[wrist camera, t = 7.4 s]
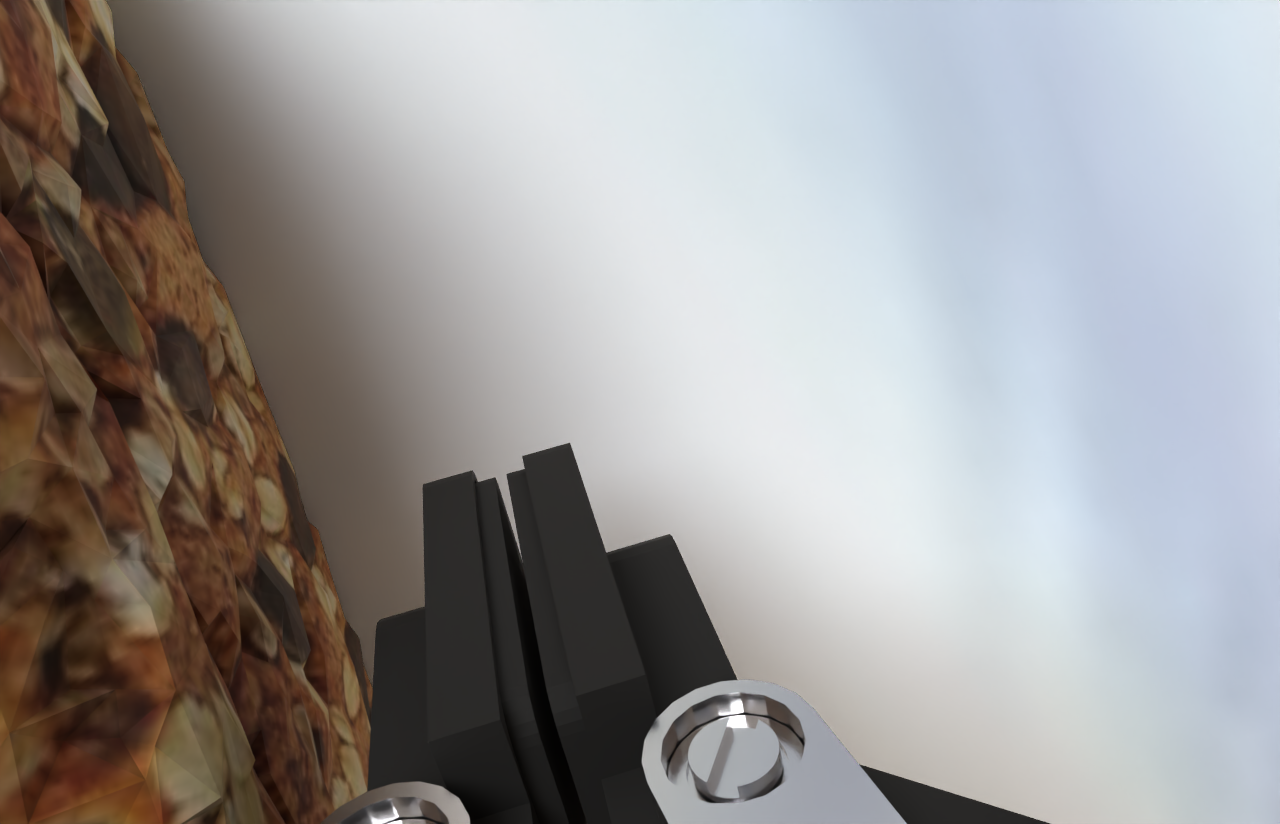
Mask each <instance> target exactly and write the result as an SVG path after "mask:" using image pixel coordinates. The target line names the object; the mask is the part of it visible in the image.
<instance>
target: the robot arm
mask: <svg viewBox="0 0 1280 824" xmlns="http://www.w3.org/2000/svg"><path fill="white" fill-rule="evenodd" d="M522 457H523V462H524V467H525V469H523V470H519V471H516V472H512V473H509V474H507V479H508V485H509V490H510V496H511V501H512V506H513V512H514V517H515V523H516V528H517V533H518V539H519V544H520V550H521V555H522V559H521V556H520V553H519V549H518V546H517V543H516V540H515V537H514V533H513V530H512V527H511V524H510V521H509V517H508V514H507V511H506V508H505V505H504V502H503V498H502V495H501V492H500V489H499V486H498V483H497V480H496V478H492V479H488V480H485V481H481V482H478V481H477V478H476V476H475V474H474V472H473V470H472V471H469V472H465V473H462V474H458V475H455V476H451V477H448V478H444V479H440V480H437V481H433V482H430V483H426V484H423V524H424V574H425V607H422V608H418V609H415V610H411V611H408V612H405V613H401V614H398V615H394V616H391V617H388V618H384V619H381V620H380V621H379V622H378V623H377V628H376V638H375V657H374V675H373V694H372V712H371V731H370V750H369V768H368V787H367V792H365V793H363V794H362V795H360V796H358V797H356V798H354V799H353V800H351V801H349V802H347V803H345V804H344V805H342V806H340V807H339V808H337V809H336V810H335V811H334V812H333V813H331V814H330V815H329V816H328V817H327V818H326V819H324V820H323V821H322V822H321V823H320V824H1050V823H1047V822H1043V821H1040V820H1037V819H1034V818H1030V817H1027V816H1024V815H1021V814H1018V813H1014V812H1011V811H1008V810H1005V809H1001V808H998V807H995V806H992V805H989V804H985V803H982V802H979V801H976V800H972V799H969V798H966V797H963V796H959V795H956V794H953V793H950V792H947V791H943V790H940V789H937V788H934V787H930V786H927V785H924V784H921V783H918V782H914V781H911V780H908V779H905V778H901V777H898V776H895V775H892V774H889V773H885V772H882V771H879V770H876V769H872V768H869V767H866V766H863V765H860V764H858V763H857V761H856V760H855V759H854V758H853V757H852V755H851V754H850V753H849V752H848V750H847V749H846V748H845V747H844V745H843V744H842V743H841V742H840V740H839V739H838V738H837V737H836V735H835V734H834V733H833V732H832V731H831V729H830V728H829V727H828V726H827V724H826V723H825V722H824V721H823V719H822V718H821V717H820V716H819V714H818V713H817V712H816V711H815V709H814V708H813V707H812V706H810V705H809V704H808V703H807V702H806V701H805V700H804V699H802V698H801V697H800V696H799V695H798V694H797V693H795V692H793V691H790V690H788V689H786V688H784V687H781V686H779V685H777V684H774V683H769V682H763V681H756V680H750V679H744V680H737V678H736V676H735V674H734V671H733V669H732V667H731V665H730V662H729V660H728V658H727V656H726V654H725V651H724V649H723V647H722V645H721V643H720V640H719V638H718V636H717V634H716V631H715V629H714V627H713V625H712V623H711V620H710V618H709V616H708V614H707V612H706V609H705V607H704V605H703V603H702V601H701V598H700V596H699V594H698V592H697V589H696V587H695V585H694V583H693V581H692V578H691V576H690V574H689V572H688V570H687V567H686V565H685V563H684V561H683V558H682V556H681V554H680V552H679V550H678V547H677V545H676V543H675V541H674V539H673V537H672V536H671V535H670V534H669V535H665V536H662V537H658V538H655V539H652V540H648V541H645V542H642V543H638V544H635V545H631V546H628V547H625V548H621V549H618V550H614V551H611V552H608V553H606V551H605V548H604V545H603V542H602V539H601V536H600V533H599V530H598V527H597V524H596V521H595V518H594V515H593V512H592V509H591V505H590V502H589V499H588V496H587V493H586V490H585V487H584V484H583V481H582V478H581V475H580V472H579V469H578V466H577V463H576V460H575V457H574V454H573V451H572V448H571V445H570V443H567V444H564V445H560V446H557V447H553V448H550V449H546V450H543V451H539V452H536V453H532V454H528V455H525V456H522ZM522 561H523V562H522Z"/></svg>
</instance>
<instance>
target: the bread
mask: <svg viewBox="0 0 1280 824" xmlns="http://www.w3.org/2000/svg"><path fill="white" fill-rule="evenodd" d="M372 694H373V688H372V686H371V683H370V680H369V678H368V675H367V673H366V670H365V668H364V665H363V660H362V653H361V646H360V639H359V638H358V636H357V635H356V633H355V632H354V630H353V629H352V628H351V626H350V625H349V623H348V622H347V621H346V619H345V617H344V614H343V611H342V608H341V604H340V601H339V598H338V595H337V592H336V589H335V585H334V582H333V579H332V576H331V573H330V569H329V566H328V563H327V559H326V556H325V552H324V549H323V546H322V542H321V539H320V535H319V532H318V530H317V529H316V528H315V527H314V526H313V525H312V524H310V523H309V522H308V521H307V518H306V515H305V511H304V508H303V505H302V502H301V498H300V494H299V489H298V484H297V480H296V475H295V471H294V469H293V466H292V464H291V461H290V459H289V456H288V454H287V451H286V449H285V446H284V444H283V441H282V439H281V436H280V433H279V431H278V428H277V426H276V423H275V421H274V418H273V416H272V413H271V411H270V408H269V406H268V403H267V400H266V398H265V395H264V393H263V390H262V387H261V385H260V382H259V379H258V377H257V374H256V371H255V369H254V366H253V364H252V361H251V358H250V356H249V353H248V350H247V348H246V345H245V342H244V340H243V337H242V335H241V332H240V329H239V327H238V324H237V321H236V319H235V316H234V313H233V311H232V308H231V305H230V303H229V300H228V297H227V295H226V292H225V289H224V287H223V285H222V284H221V283H220V282H219V280H218V279H217V278H216V276H215V275H214V274H213V272H212V271H211V270H210V269H209V267H208V266H207V265H206V263H205V262H204V261H203V259H202V256H201V253H200V250H199V247H198V244H197V241H196V238H195V235H194V232H193V230H192V227H191V224H190V221H189V218H188V212H187V205H186V194H185V182H184V180H183V178H182V176H181V174H180V173H179V171H178V169H177V167H176V165H175V163H174V162H173V160H172V158H171V156H170V154H169V152H168V150H167V147H166V145H165V142H164V140H163V137H162V135H161V132H160V130H159V127H158V125H157V122H156V120H155V117H154V115H153V112H152V110H151V107H150V104H149V102H148V99H147V97H146V94H145V92H144V89H143V87H142V84H141V82H140V79H139V77H138V74H137V72H136V71H135V70H134V69H133V67H132V66H131V65H130V64H129V63H128V61H127V60H126V59H125V58H124V57H123V56H122V54H121V53H120V52H119V51H118V50H117V48H116V47H115V41H114V30H113V19H112V11H111V9H110V7H109V5H108V3H107V1H106V0H0V824H320V823H321V822H322V821H323V820H324V819H326V818H327V817H328V816H329V815H330V814H331V813H333V812H334V811H335V810H336V809H337V808H339V807H340V806H342V805H344V804H345V803H347V802H349V801H351V800H353V799H354V798H356V797H358V796H360V795H362V794H363V793H365V792H367V787H368V768H369V750H370V731H371V712H372Z"/></svg>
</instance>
